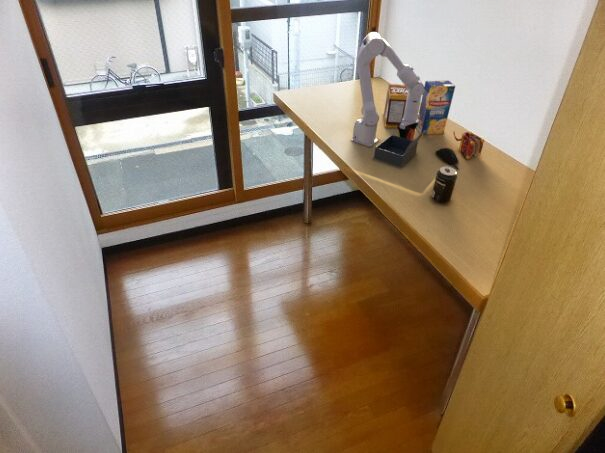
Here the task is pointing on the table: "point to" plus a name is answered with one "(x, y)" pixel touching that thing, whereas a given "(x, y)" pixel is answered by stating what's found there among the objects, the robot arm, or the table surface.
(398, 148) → the storage box
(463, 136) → the book monster
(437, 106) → the beverage box
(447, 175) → the beverage can
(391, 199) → the table surface
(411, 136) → the small box
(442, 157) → the gaming mouse
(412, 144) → the flap
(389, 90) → the supplement box
